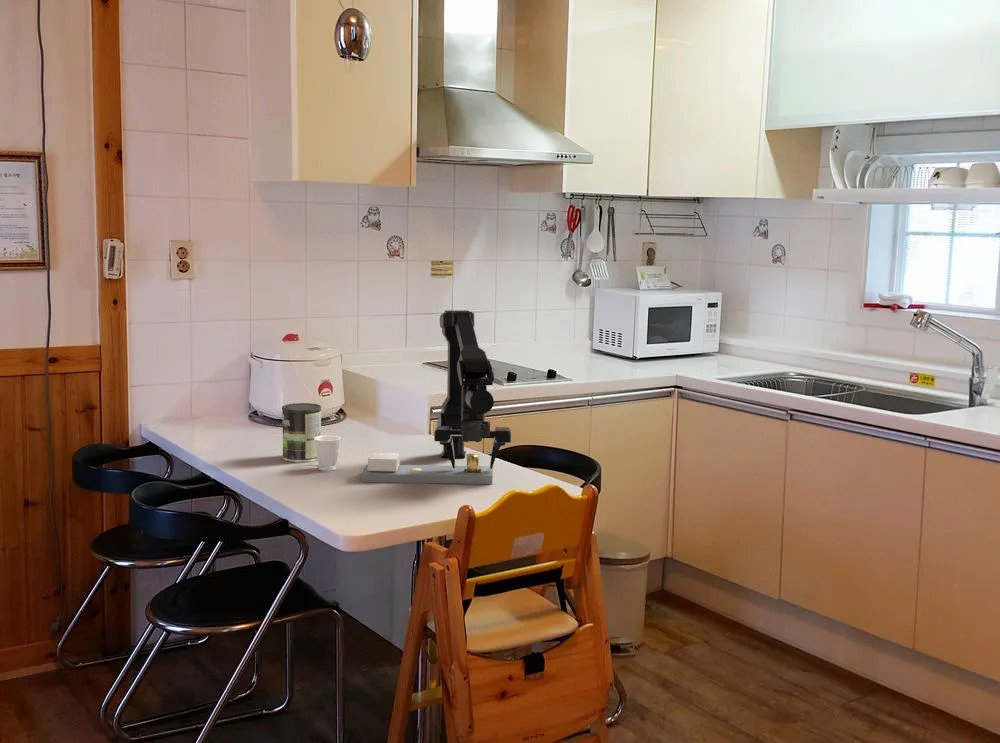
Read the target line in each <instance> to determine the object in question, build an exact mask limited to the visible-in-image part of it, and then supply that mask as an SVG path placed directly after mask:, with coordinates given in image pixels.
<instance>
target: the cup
mask: <svg viewBox="0 0 1000 743" xmlns="http://www.w3.org/2000/svg"><path fill="white" fill-rule="evenodd" d="M314 442H315V448H316V455H317V463H318V466H319V468H318V470H320V471H323V472H329V471H330V472H332V471H336V469H337V467H336V465H337V463H338V457H339V453H340V452H339V450H340V443H341V436H337V435H321V436H318V437H315V438H314Z"/></svg>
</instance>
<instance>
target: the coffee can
mask: <svg viewBox="0 0 1000 743" xmlns="http://www.w3.org/2000/svg"><path fill="white" fill-rule="evenodd" d="M281 410H282V412H281V413H282V460H283V461H285V462H289V463H296V464H297V463H299V464H300V463H301V464H302V463H312V462H318V460H317V455H316V448H315V442H314V438H315V437H318V436H322V405H320V404H316V403H311V402H298V403H297V402H295V403H289V404H284V405H282V406H281Z"/></svg>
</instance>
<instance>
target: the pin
mask: <svg viewBox="0 0 1000 743" xmlns="http://www.w3.org/2000/svg"><path fill="white" fill-rule="evenodd" d="M479 456H480V455H479V453H478V454H477V453H469V454H467V453H466V466H467V472H466V473H479V466H480V465H479V464H480V457H479Z"/></svg>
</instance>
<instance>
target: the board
mask: <svg viewBox="0 0 1000 743" xmlns="http://www.w3.org/2000/svg"><path fill="white" fill-rule="evenodd" d="M466 472H467V465H455V468H453V466H452V465H432V464H431V465H429V464H427V465H426V464H424V465H423V464H421V465H419V464H399V467H398V469H397V471H368V463H367V464H365V466H364V468H363V469H362V471H361V473H360V483H401V484H402V483H403V484H404V483H407V484H408V483H409V484H457V485H459V484H463V485H464V484H465V485H467V484H468V485H472V484H473V485H493V479H494V478H493V477H494V466H493V467H492V469H490V466H489V465H488V466H487V465H482V466H480V465H479V473H466Z"/></svg>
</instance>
